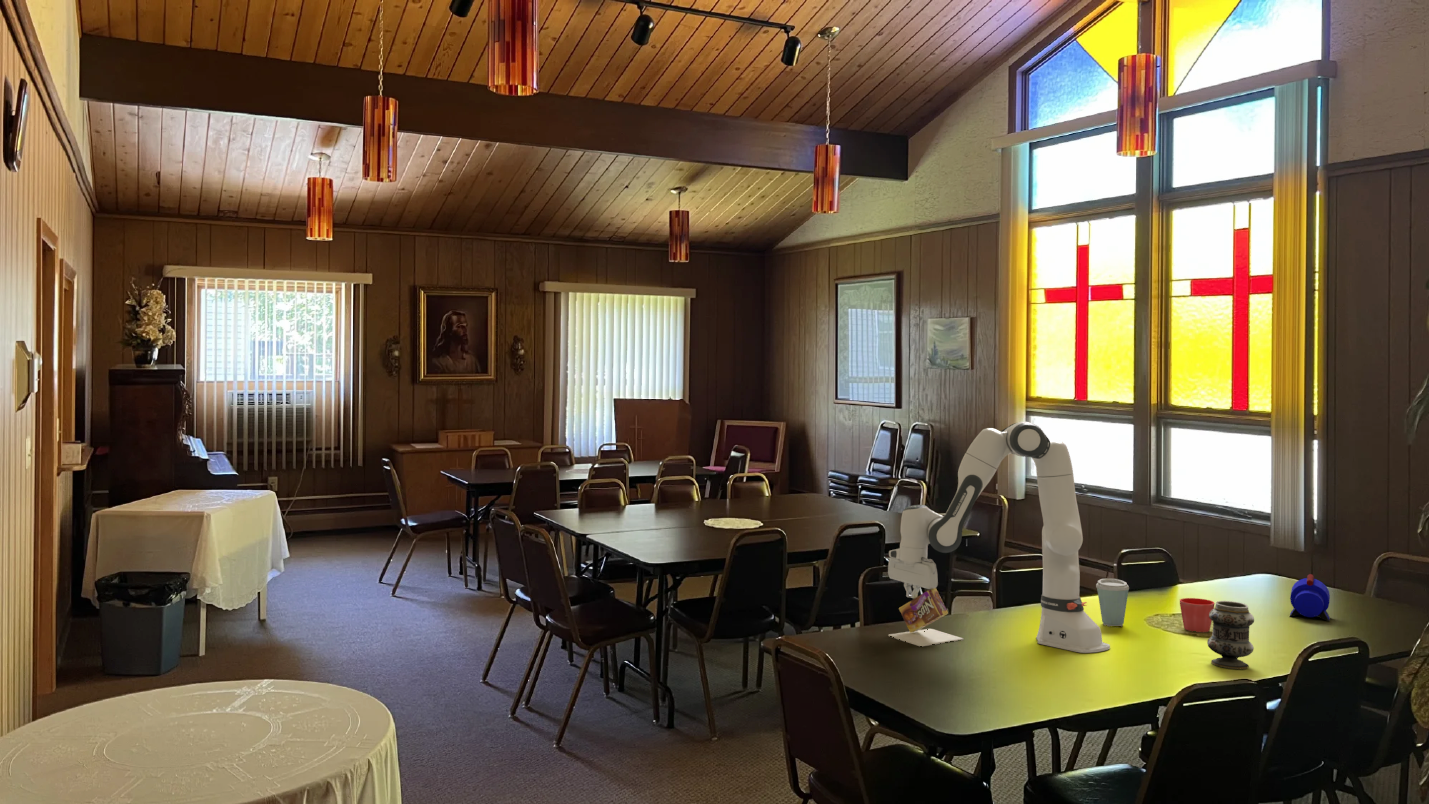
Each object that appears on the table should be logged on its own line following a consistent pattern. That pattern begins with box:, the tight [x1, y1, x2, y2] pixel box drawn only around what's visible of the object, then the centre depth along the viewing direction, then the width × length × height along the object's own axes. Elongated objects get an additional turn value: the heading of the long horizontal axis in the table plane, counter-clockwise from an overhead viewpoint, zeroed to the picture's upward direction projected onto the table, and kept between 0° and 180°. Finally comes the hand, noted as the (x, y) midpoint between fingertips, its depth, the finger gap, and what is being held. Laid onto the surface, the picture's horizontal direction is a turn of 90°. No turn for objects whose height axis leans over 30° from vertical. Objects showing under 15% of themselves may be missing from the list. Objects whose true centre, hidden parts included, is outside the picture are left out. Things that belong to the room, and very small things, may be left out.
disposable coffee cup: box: [1095, 578, 1130, 627], centre depth 344 cm, size 11×11×15 cm
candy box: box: [898, 587, 949, 633], centre depth 323 cm, size 9×4×15 cm
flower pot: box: [1179, 597, 1216, 633], centre depth 339 cm, size 11×11×10 cm
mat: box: [887, 628, 964, 647], centre depth 322 cm, size 15×18×1 cm
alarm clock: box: [1289, 573, 1331, 623], centre depth 361 cm, size 12×12×15 cm
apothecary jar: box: [1207, 600, 1255, 670], centre depth 295 cm, size 12×12×18 cm
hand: (911, 597), depth 327 cm, fingers closed
